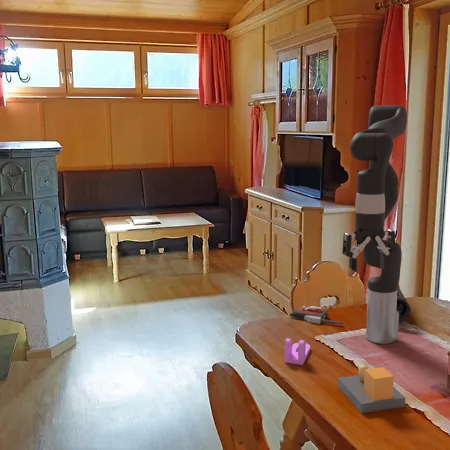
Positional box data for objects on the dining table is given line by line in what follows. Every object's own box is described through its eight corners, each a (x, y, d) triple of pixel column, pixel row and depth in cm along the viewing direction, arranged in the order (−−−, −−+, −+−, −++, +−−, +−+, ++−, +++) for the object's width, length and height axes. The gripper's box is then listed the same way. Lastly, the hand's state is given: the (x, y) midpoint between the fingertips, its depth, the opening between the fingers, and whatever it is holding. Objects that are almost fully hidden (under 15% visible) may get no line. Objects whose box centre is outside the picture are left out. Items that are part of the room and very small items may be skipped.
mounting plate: (377, 380, 147) (378, 359, 146) (405, 406, 134) (406, 382, 132) (337, 386, 145) (338, 364, 143) (361, 413, 131) (362, 389, 130)
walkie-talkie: (287, 320, 194) (342, 328, 185) (287, 309, 193) (342, 316, 184) (294, 312, 201) (347, 319, 193) (294, 301, 201) (347, 308, 192)
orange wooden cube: (382, 388, 138) (382, 367, 137) (392, 398, 133) (393, 376, 132) (363, 391, 137) (364, 369, 136) (373, 401, 132) (374, 378, 131)
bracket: (302, 365, 158) (302, 343, 156) (284, 362, 160) (284, 341, 158) (311, 347, 170) (312, 327, 168) (294, 345, 172) (294, 325, 170)
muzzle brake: (382, 325, 187) (383, 297, 185) (372, 299, 214) (373, 274, 212) (410, 326, 185) (411, 298, 183) (397, 299, 212) (398, 274, 210)
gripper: (387, 206, 144) (385, 263, 147) (338, 209, 141) (337, 268, 144) (402, 210, 137) (399, 270, 140) (351, 214, 134) (350, 275, 137)
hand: (368, 269), depth 142 cm, fingers open, 8 cm apart
